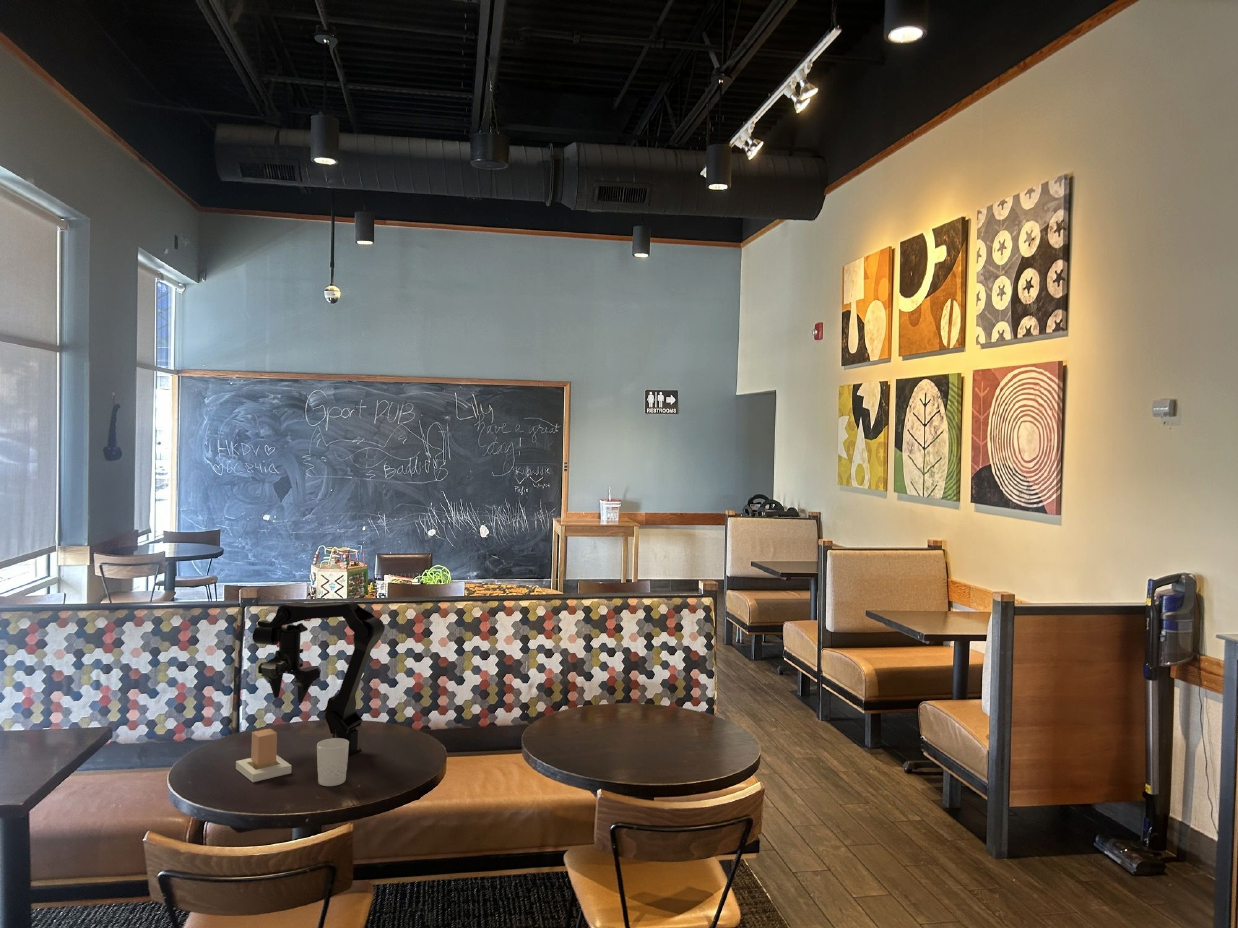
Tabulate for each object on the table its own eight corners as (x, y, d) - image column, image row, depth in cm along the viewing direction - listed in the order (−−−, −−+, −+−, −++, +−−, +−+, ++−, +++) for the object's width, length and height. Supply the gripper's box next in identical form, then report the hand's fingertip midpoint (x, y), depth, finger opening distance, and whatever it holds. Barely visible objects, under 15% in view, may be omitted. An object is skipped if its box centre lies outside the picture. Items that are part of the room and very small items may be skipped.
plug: (269, 765, 229) (270, 728, 228) (276, 770, 225) (277, 732, 225) (250, 769, 225) (251, 731, 225) (257, 774, 222) (258, 736, 222)
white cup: (320, 775, 223) (321, 737, 223) (351, 775, 224) (352, 737, 224) (312, 787, 215) (313, 748, 215) (343, 787, 216) (344, 748, 216)
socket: (273, 759, 233) (273, 752, 233) (291, 772, 224) (291, 765, 224) (235, 768, 226) (236, 761, 226) (252, 782, 217) (252, 774, 217)
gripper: (243, 647, 241) (241, 702, 241) (292, 656, 233) (291, 712, 233) (274, 640, 251) (272, 692, 251) (322, 648, 243) (320, 702, 244)
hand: (288, 700), depth 245 cm, fingers open, 9 cm apart
